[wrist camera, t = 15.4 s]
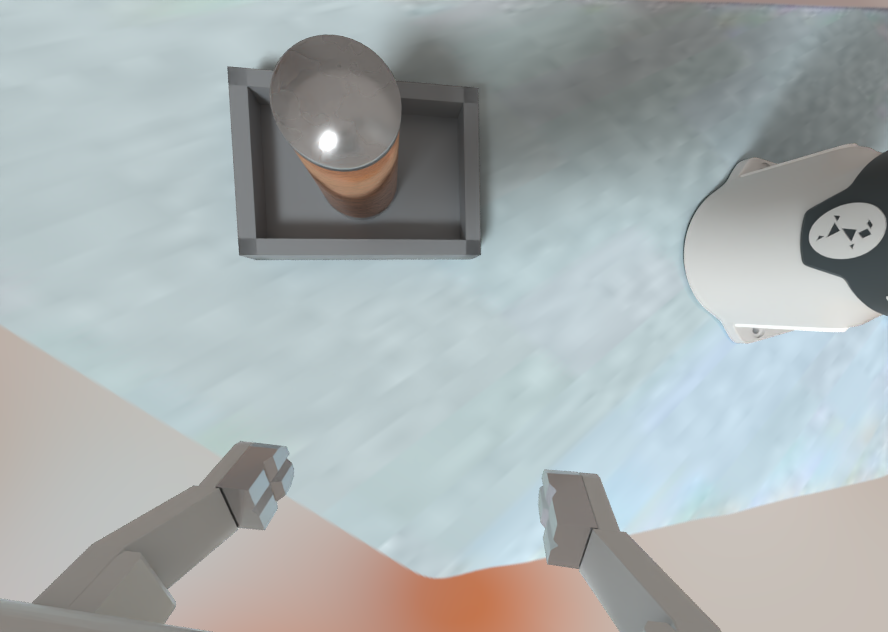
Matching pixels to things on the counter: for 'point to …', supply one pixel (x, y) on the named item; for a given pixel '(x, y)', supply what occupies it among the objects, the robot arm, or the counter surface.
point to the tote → (319, 225)
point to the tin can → (341, 121)
